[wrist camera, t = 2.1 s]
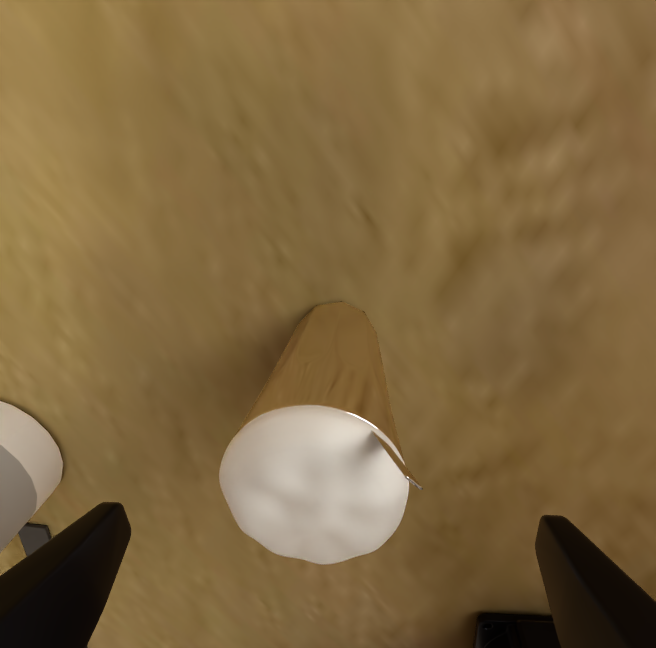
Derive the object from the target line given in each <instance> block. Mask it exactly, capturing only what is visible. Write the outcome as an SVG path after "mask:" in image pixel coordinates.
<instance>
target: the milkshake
mask: <svg viewBox="0 0 656 648" xmlns="http://www.w3.org/2000/svg"><path fill="white" fill-rule="evenodd" d="M219 481H220V486H221V489H222V492H223V494H224V497H225V499H226V501H227V503H228V505H229V508H230V510H231V512H232V515H233V517H234V519H235V521H236V522H237V524H238V526H239V527H240V529H241V530H242V531H243V532H244V533H245V534H247V535H248V536H250V537H252V538H253V539H255V540H256V541H258V542H259V543H260V544H262V545H263V546H264V547H265V548H267V549H268V550H270V551H271V552H273V553H275V554H278V555H281V556H285V557H292V558H299V559H303V560H307V561H310V562H313V563H316V564H334V563H338V562H342V561H345V560H347V559H350V558H353V557H356V556H360V555H364V554H368V553H371V552H373V551H375V550H377V549H378V548H379V547H381V546H382V545H383V544H384V543H385V542H386V541H387V540H388V539H389V538H390V537H391V536H392V534H393V533H394V532H395V530H396V529H397V527H398V525H399V524H400V521H401V519H402V517H403V514H404V511H405V507H406V502H407V498H408V492H409V481H410V482H411V483H412V484H414V485H415V486H416V487H417V488H419V489H420V490H422V489H423V488H422V487H421V485H420V484H419V483H418V481H417V480H416V479H415V478H414V476H413V475H412V474H411V472H410V471H409V470H408V469H407V467H406V466H405V463H404V459H403V455H402V451H401V446H400V442H399V438H398V434H397V430H396V426H395V422H394V418H393V414H392V409H391V405H390V400H389V394H388V389H387V383H386V378H385V373H384V368H383V363H382V358H381V353H380V347H379V342H378V337H377V333H376V331H375V329H374V327H373V326H372V324H371V322H370V321H369V319H368V317H367V315H366V314H365V312H364V311H362V310H360V309H357V308H355V307H353V306H351V305H348V304H346V303H344V302H342V301H340V302H334V303H328V304H322V305H316V306H315V307H314V308H313V309H312V310H311V311H310V312H309V313H308V314H307V315H306V316H305V317H304V318H303V319H302V320H301V321H300V323H299V324H298V326H297V328H296V330H295V332H294V333H293V335H292V337H291V339H290V341H289V342H288V344H287V346H286V348H285V350H284V352H283V353H282V355H281V357H280V359H279V361H278V363H277V364H276V366H275V368H274V370H273V372H272V374H271V376H270V377H269V379H268V381H267V383H266V385H265V387H264V388H263V390H262V392H261V393H260V395H259V397H258V398H257V400H256V401H255V403H254V405H253V406H252V408H251V410H250V411H249V413H248V415H247V416H246V418H245V419H244V421H243V423H242V424H241V426H240V428H239V429H238V431H237V433H236V434H235V436H234V438H233V439H232V440H231V442H230V443H229V445H228V447H227V449H226V451H225V453H224V456H223V459H222V462H221V466H220V471H219Z"/></svg>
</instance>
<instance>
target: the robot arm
mask: <svg viewBox="0 0 656 648" xmlns="http://www.w3.org/2000/svg"><path fill="white" fill-rule="evenodd" d="M130 536H131V526H130V523H129V521H128V518H127V515H126V512H125V510H124V507H123V505H122V504H121V503H118V502H103V503H101V504H99V505H97V506H96V507H95V508H93V509H92V510H91V511H89V512H88V513H86V514H85V515H84V516H82V517H81V518H79V519H78V520H77V521H75V522H74V523H73V524H71V525H70V526H68V527H67V528H66V529H64V530H63V531H62V532H60V533H59V534H57V535H56V536H55V537H53V538H52V539H51V540H49V541H48V542H46V543H45V544H44V545H42V546H41V547H40V548H38V549H37V550H35V551H34V552H33V553H31V554H30V555H29V556H27V557H26V558H24V559H23V560H22V561H20V562H19V563H18V564H16V565H15V566H13V567H12V568H11V569H9V570H8V571H7V572H5V573H4V574H2V575H1V576H0V648H86V646H87V644H88V642H89V640H90V638H91V635H92V633H93V631H94V629H95V627H96V625H97V623H98V621H99V618H100V616H101V614H102V612H103V609H104V607H105V604H106V602H107V599H108V597H109V594H110V591H111V589H112V586H113V583H114V581H115V578H116V575H117V573H118V570H119V567H120V564H121V562H122V559H123V556H124V554H125V551H126V548H127V546H128V543H129V540H130ZM535 549H536V555H537V559H538V563H539V567H540V571H541V575H542V579H543V582H544V586H545V590H546V594H547V598H548V602H549V606H550V609H551V613H552V617H544V616H525V615H506V614H488V613H486V614H481V615H479V616H478V617H477V621H476V628H475V636H474V643H473V648H656V601H654V600H653V599H652V598H651V597H650V596H649V595H648V594H647V593H646V592H645V591H644V590H643V589H642V588H641V587H639V586H638V585H637V584H636V583H635V582H634V581H633V580H632V579H631V578H630V577H629V576H628V575H627V574H626V573H625V572H623V571H622V570H621V569H620V568H619V567H618V566H617V565H616V564H615V563H614V562H613V561H612V560H611V559H610V558H608V557H607V556H606V555H605V554H604V553H603V552H602V551H601V550H600V549H599V548H598V547H597V546H596V545H595V544H594V543H592V542H591V541H590V540H589V539H588V538H587V537H586V536H585V535H584V534H583V533H582V532H581V531H580V530H579V529H578V528H576V527H575V526H574V525H573V524H572V523H571V522H570V521H569V520H568V519H567V518H565V517H563V516H558V515H544V516H542V517H541V519H540V522H539V527H538V532H537V537H536V542H535Z"/></svg>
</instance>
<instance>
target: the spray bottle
mask: <svg viewBox="0 0 656 648" xmlns="http://www.w3.org/2000/svg"><path fill="white" fill-rule="evenodd" d="M62 469H63V461H62V457H61V454H60V450H59V448H58V446H57V445H56V443H55V441H54V440H53V438H52V437H51V435H50V434H49V432H48V431H47V430H46V429H44V428H43V427H42V426H41V425H40V424H39V423H38V422H37V421H36V420H35V419H34V418H33V417H31V416H29V415H28V414H26V413H25V412H23V411H21V410H20V409H18V408H16V407H15V406H13V405H10V404H7V403H4V402H1V401H0V553H1V552H2V550H3V549H4V548H5V547H6V546H7V545H8V543H9V542H10V541H11V540H12V539H13V538H14V537H15V535H16V534H17V533H18V532H19V531H20V530H21V528H22V527H23V526H24V525H25V524H26V523H27V522H28V520H29V519H30V518H31V517H32V516H33V515H34V514H35V512H36V511H37V510H38V509H39V508H40V507H41V505H42V504H43V503H44V502H45V501H46V500H47V499H48V497H49V496H50V495H51V494H52V493H53V491H54V490H55V489H56V487H57V486H58V484H59V483H60V481H61V477H62Z"/></svg>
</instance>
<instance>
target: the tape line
mask: <svg viewBox="0 0 656 648" xmlns="http://www.w3.org/2000/svg"><path fill="white" fill-rule="evenodd" d="M18 534H19V536H20V539H21V542H22V544H23V547H24V550H25V552H26V555H27V556H29V555H30V554H31V553H33V552H34V551H35V550H37V549H38V548H40V547H41V546H42V545H44V544H45V543H46V542H48V541H49V540H51V536H50V533H49V530H48V527H47V526H44V525H36V524H28V523H26V524H25V525H24V526H23V527H22V528H21V530H20V531H19V532H18ZM86 648H87V646H86Z"/></svg>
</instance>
